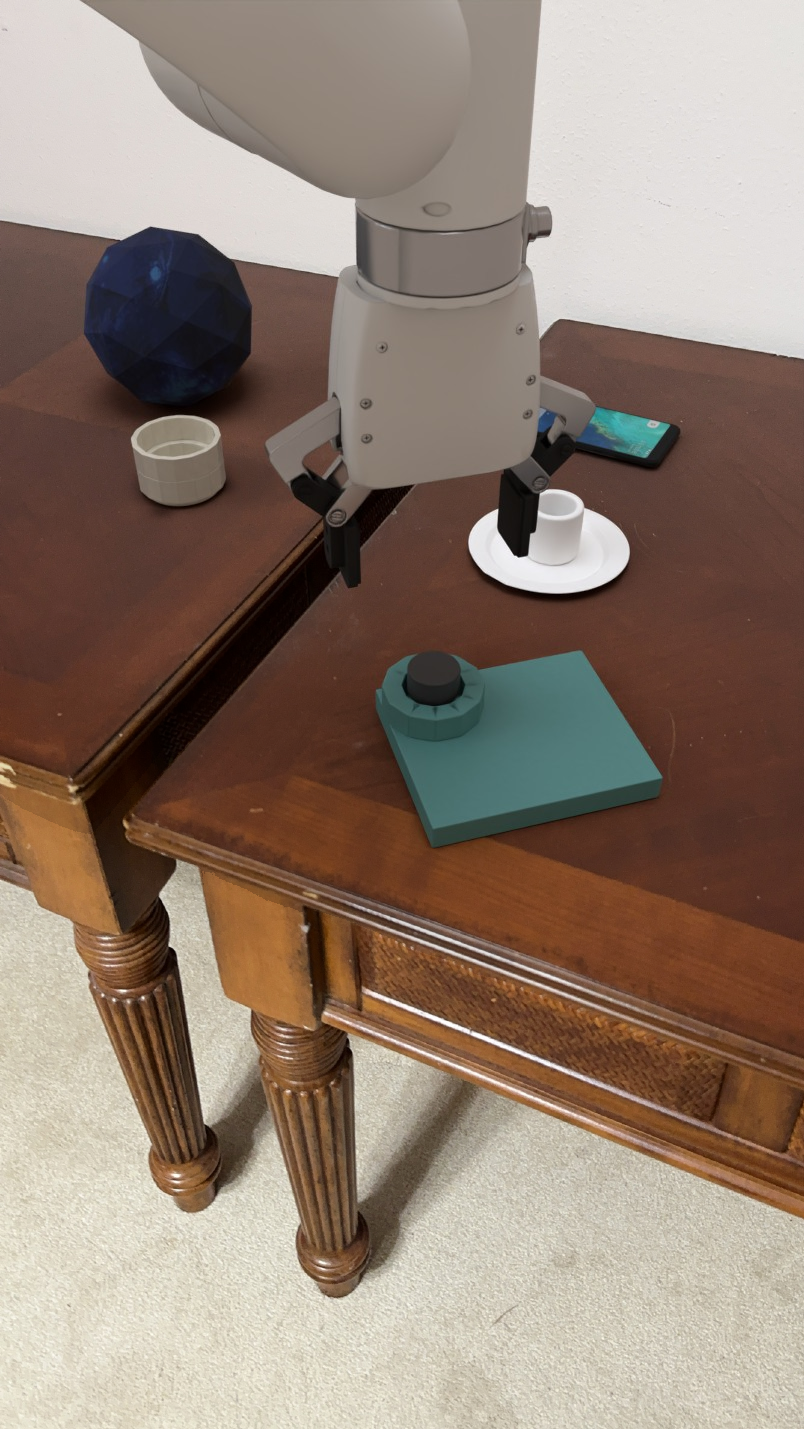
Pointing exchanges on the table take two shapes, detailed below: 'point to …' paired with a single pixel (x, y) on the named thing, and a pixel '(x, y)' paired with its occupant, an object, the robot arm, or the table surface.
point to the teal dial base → (514, 748)
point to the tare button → (433, 678)
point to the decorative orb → (168, 316)
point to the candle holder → (554, 548)
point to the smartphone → (621, 436)
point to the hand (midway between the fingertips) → (431, 558)
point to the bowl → (179, 459)
